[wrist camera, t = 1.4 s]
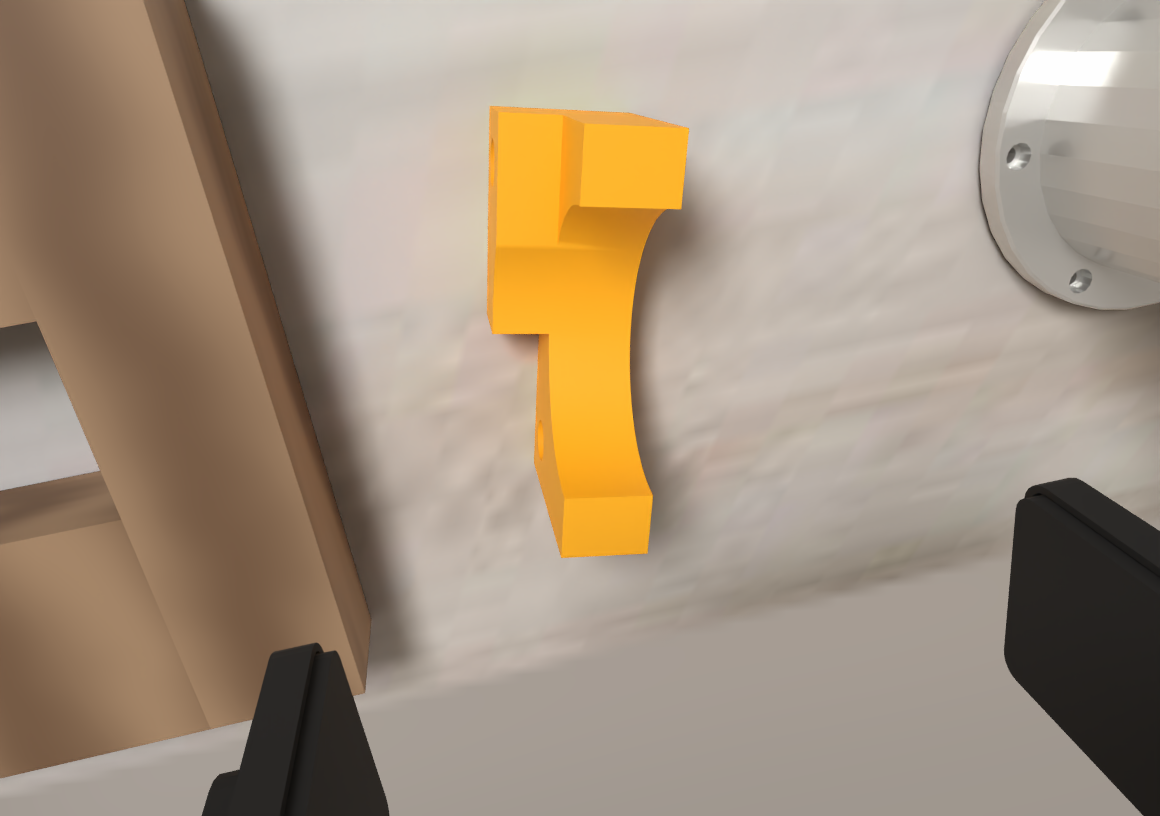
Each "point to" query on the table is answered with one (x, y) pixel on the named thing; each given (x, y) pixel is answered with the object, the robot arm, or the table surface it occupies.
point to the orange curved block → (580, 299)
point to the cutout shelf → (149, 404)
